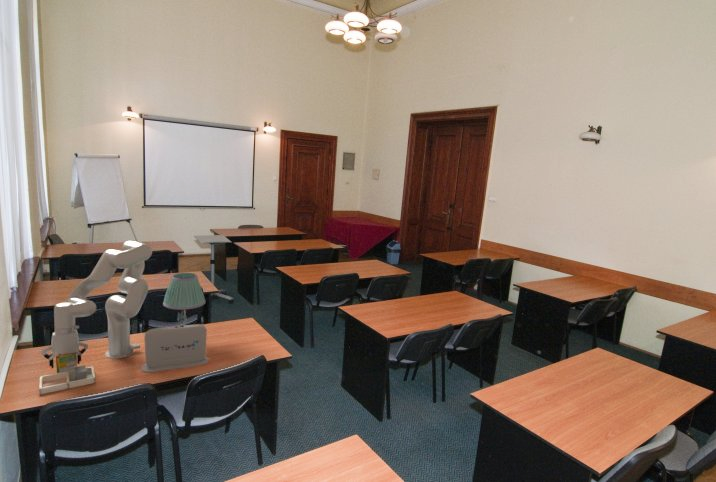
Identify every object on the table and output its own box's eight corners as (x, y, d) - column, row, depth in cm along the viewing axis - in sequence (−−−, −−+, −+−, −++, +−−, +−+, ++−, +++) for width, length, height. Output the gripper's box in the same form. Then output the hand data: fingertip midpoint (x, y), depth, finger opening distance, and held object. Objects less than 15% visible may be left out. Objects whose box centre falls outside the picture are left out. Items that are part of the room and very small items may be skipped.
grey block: (85, 375, 180) (85, 365, 180) (86, 381, 176) (86, 371, 175) (75, 377, 178) (74, 367, 177) (75, 383, 173) (75, 373, 172)
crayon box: (74, 369, 186) (73, 346, 184) (77, 371, 184) (76, 348, 182) (56, 376, 180) (55, 352, 178) (59, 378, 178) (58, 354, 176)
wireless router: (140, 374, 187) (140, 334, 184) (141, 364, 196) (140, 326, 192) (210, 364, 202) (210, 327, 198) (207, 355, 210) (208, 320, 207)
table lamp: (163, 338, 226) (163, 271, 219) (204, 335, 234) (205, 270, 228) (161, 355, 206) (161, 282, 200) (205, 351, 215) (206, 280, 208)
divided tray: (93, 372, 185) (93, 366, 184) (95, 384, 176) (95, 377, 175) (40, 383, 173) (39, 376, 172) (39, 396, 164) (39, 389, 163)
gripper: (87, 324, 186) (87, 357, 189) (40, 329, 176) (41, 365, 178) (88, 329, 181) (88, 364, 183) (40, 335, 170) (41, 372, 172)
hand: (65, 364), depth 181 cm, fingers open, 9 cm apart
